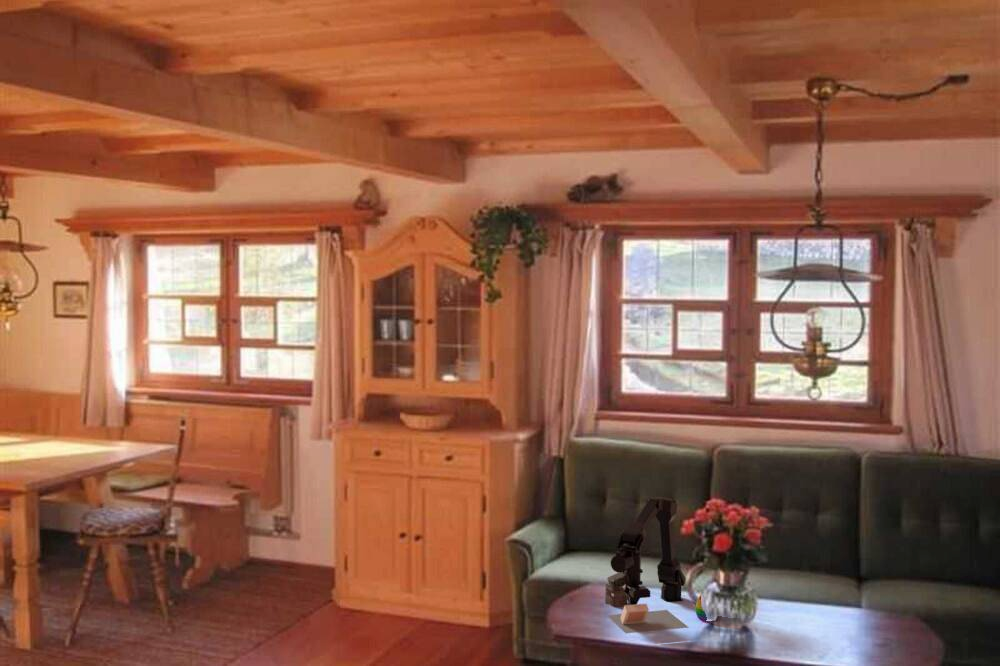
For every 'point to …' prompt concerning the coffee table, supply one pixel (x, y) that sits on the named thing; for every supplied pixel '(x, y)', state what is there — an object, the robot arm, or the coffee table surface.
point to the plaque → (634, 614)
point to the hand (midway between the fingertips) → (631, 610)
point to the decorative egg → (700, 610)
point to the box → (615, 596)
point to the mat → (650, 622)
